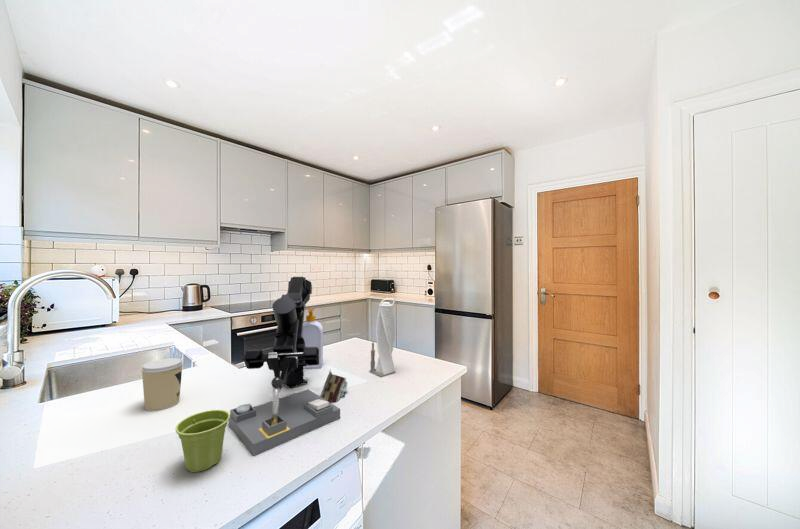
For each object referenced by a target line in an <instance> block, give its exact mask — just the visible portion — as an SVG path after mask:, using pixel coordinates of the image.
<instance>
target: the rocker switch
mask: <svg viewBox="0 0 800 529" xmlns="http://www.w3.org/2000/svg"><path fill="white" fill-rule="evenodd" d="M308 406H310V407H311V408H313V409H316V410H319V409H322V408H324V407H327V406H329V402H327V401H324V400H320V399H317V400H314V401H312V402H309V403H308Z"/></svg>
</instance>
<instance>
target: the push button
mask: <svg viewBox="0 0 800 529" xmlns="http://www.w3.org/2000/svg"><path fill="white" fill-rule="evenodd" d="M248 404H249V403H248ZM248 404H241V405H239V406H237V407H236V408H237V412H236V413H237V415H241V414H244V413H247V412H250V405H251V404H250V405H248Z"/></svg>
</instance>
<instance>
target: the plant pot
mask: <svg viewBox="0 0 800 529" xmlns="http://www.w3.org/2000/svg"><path fill="white" fill-rule="evenodd" d="M229 419H230V412H228V411H227V410H224V409H209V410H205V411H201V412H197V413H194V414H192V415H189V416H187V417H186V418H185V417H184V419H182V420H181V421H179V422H178V423H177V424H176V425H175V433H176V434H177V435H178V438H179V439H180V444H181V448H182V452H183V458H184V464H185V469H186V470H187V471H190V472H191V473H197V472H198V473H199V472H204V471H206V470H209V469H211V467H212V466H214V465H216V464H218V463H219V462H220V461H221V459H222V454H223V447H224V440H225V434H226V433H225V432H226V429H227V426H228V420H229Z"/></svg>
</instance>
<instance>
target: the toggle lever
mask: <svg viewBox="0 0 800 529" xmlns="http://www.w3.org/2000/svg"><path fill="white" fill-rule="evenodd" d="M270 384H271V386H272V388H273V392H272V395H273V396H272V401H273V405H272V419H271V426H272V425H275V424H278V410H279V399H280V387H281V386H282V384H283V380H282V378H281V377H275V376H274V377H273V378H272V380H271V382H270ZM283 385H284V384H283ZM282 387H283V386H282Z"/></svg>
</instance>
